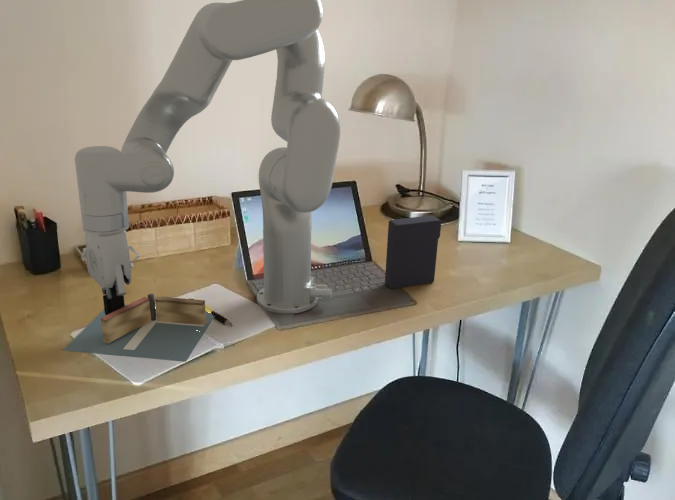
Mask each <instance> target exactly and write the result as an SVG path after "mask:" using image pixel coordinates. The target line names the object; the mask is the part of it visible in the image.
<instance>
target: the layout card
mask: <svg viewBox="0 0 675 500" xmlns="http://www.w3.org/2000/svg"><path fill="white" fill-rule="evenodd" d="M127 305H128V304H125V306H127ZM215 312H216V314H218V311H215ZM104 316H106V315H105V311H104V309H103V310H101V312H99V313H98V314H97V316H96V317H94V319H93V320H92V321H91V322H90V323H89V324H88V325H87V326H86V327H84V328H83V329H82V330H81V332H80V333H78V335H76V336H75V337H74V338H73V340H72V341H70V343H68V344H67V345H66V346H65V347H64V349H62V351H64V352H75V353H76V352H77V353H86V354H98V355H108V356H110V355H111V356H117V357H118V356H120V357H131V358H141V359H155V360H165V361H174V362H175V361H176V362H187V360H188V359H189V358H190V356H191V354H192V352H193V351H194V349H195V348H196V347H197V345H198V343H199V342H200V341H201V338H202V337H203V335H204V334H205V332H206V331H207V329H208V327H209V326H210V324H211V323H212V321H213V320H214V318H215V316H213V315H212V314H211V313H208V312H206V324H205V325H196V324H184V323H172V322H160V321H157V315H156V320H155V321H150V322H148V323H146V324H144V325H142V326H140V327H139V328H137V329H135V330H133V331H131V332H129V333H127V334H125V335H123V336H122V337H120V338H118V339H116V340H114V341H112V342H110V343H106V342H104V341H103V333H102V325H101V318H102V317H104ZM196 330H198V331H196ZM199 331H200V332H199Z"/></svg>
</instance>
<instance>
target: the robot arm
mask: <svg viewBox="0 0 675 500" xmlns="http://www.w3.org/2000/svg"><path fill="white" fill-rule="evenodd" d="M323 13H324V12H323V6H322V2H321V0H238V1H233V2H210V3H207V4H205V5H203V7H201V8H200V9H199V10H198V12H197V13H196V14H195V16H194V18H193V19H192V22H191V23H190V25H189V27H188V29H187V30H186V33H185V35H184V37H183V39H182V41H181V42H180V44H179V47H178V48H177V50H176V53H175V55H174V57H173V59H172V61H171V62H170V64H169V66H168V68H167V69H166V71H165V74H164V75H163V77H162V79H161V81H160V82H159V84H157V86H156V88H155V89H154V90H153V92H152V94H151V95H150V96H149V98H148V99H147V101H146V103H145V104H144V105H143V106H142V107H141V110H140V111H139V113H138V115H136V119H135V120H134V122H133V124H132V125H131V128H130V130H129V131H128V134H127V136H126V137H125V140H124V142H123V143H122V144H123V145H122V147H121V148H120V149H121V150H119V149H118V148H117V147H113V146H107V145H93V146H92V145H91V146H87V147H83V148H81V149H79V150H78V151H76V154H75V156H74V166H75V173H76V180H77V189H78V197H79V199H78V201H79V207H80V208H79V209H80V216H81V225H82V231H83V232H84V233H85V248H86V255H85V256H86V261H87V263H86V264H87V265H86V268H87V272H88V274H89V275H90V277H91V278H92V279H93V280H94V281H95V283H96V284H97V285H98V286H100V288H101V292H102V294H103V295H102V299H103V300H102V301H103V310H104V311H105V315H108V314H110V313H112V312H114V311H116V310H118V309H120V308H122V307H125V305H126V304H125V295H127V290H126V285H128V286H129V285H130V284H131V282H132V269H131V268H132V266H131V265H130V262H131V258H130V249H128V245H129V244H128V239H127V233H126V231H127V230H128V229H129V228H130V221H129V209H128V207H129V206H128V198H127V197H128V196H127V192H131V193H149V194H150V193H151V194H152V193H158V192H161V191H163V190H164V189H167V188H168V187H169V186H170V185H171V183H172V181H173V179H174V176H175V167H174V164H173V161H171V159H170V157H169V156H168V154H167V152H168V150H169V149H170V146H171V145H172V143H173V140H174V139H175V138H176V135H177V134H178V132H179V131H180V130H181V128H182V127H183V126H184V125H185V123H187V122H188V121H189V120H190V119H191V118H193V117H195V116H196V115H199V114H200V113H201V112H203V111H204V110H205V109H206V108H207V107H209V105H210V104H211V102H212V99H213V98H214V96H215V94H216V92H217V90H218V88H219V86H220V85H221V82H222V80H223V79H224V77H225V75H226V73H227V72H228V70H229V68H230V66H231V64H232V62H233V61H241V60H245V59H250V58H253V57H257V56H260V55H263V54H266V53H270V52H273V51H275V50H276V56H277V68H276V78H275V87H274V93H273V103H272V108H271V109H272V110H271V116H270V117H271V118H270V121H271V126H272V127H271V128H272V129H273V130H274V132H275V134H276V135H277V136H279V138H281V139H282V140H283V141H285V142H287V143H286V144H287V145H286V147H285V146H284V147H282V146H281V147H276V148H274V149H272V150H271V151H269V152H267V154H265V156H264V157H263V158H262V160H261V163H260V164H259V165H260V166H259V169H258V185H259V190H260V198H261V199H260V200H261V205H262V206H261V207H262V227H263V228H262V235H263V236H262V240H263V241H262V245H263V247H262V248H263V249H262V251H263V288H261V289H260V290H259V291H258V292H257V294H256V302H257V305H259V307H260V308H261V309H264V310H265V311H269V312H272V313H277V314H300V313H304V312H307V311H309V310H311V309H313V308H314V307H315V306H317V304H318V302H319V298H322V299H332V295H333V289H332V288H328V284H323V283H322V284H317V282H315V276H312V275H311V274H312V273H311V272H312V270H311V269H312V228H313V227H312V212H315V211H316V210H318V209H319V208H321V207H322V206H323V205H324V204H325V202H326V201H327V200H328V197H329V196H330V192H331V190H332V187H333V182H334V175H335V170H336V163H337V158H338V151H339V147H340V146H339V145H340V138H341V125H340V119H339V115H338V113H337V111H336V108H335V107H334V106H333V105H332V104H331V103H330V102H328V101H327V100H326V99H324V98H323V97H322V95H323V87H324V77H325V70H326V69H325V66H326V55H325V47H324V44H323V40H322V36H321V34H320V32H319V30H318V29H319V27H320V26H321V23H322V19H323ZM125 284H126V285H125Z"/></svg>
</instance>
